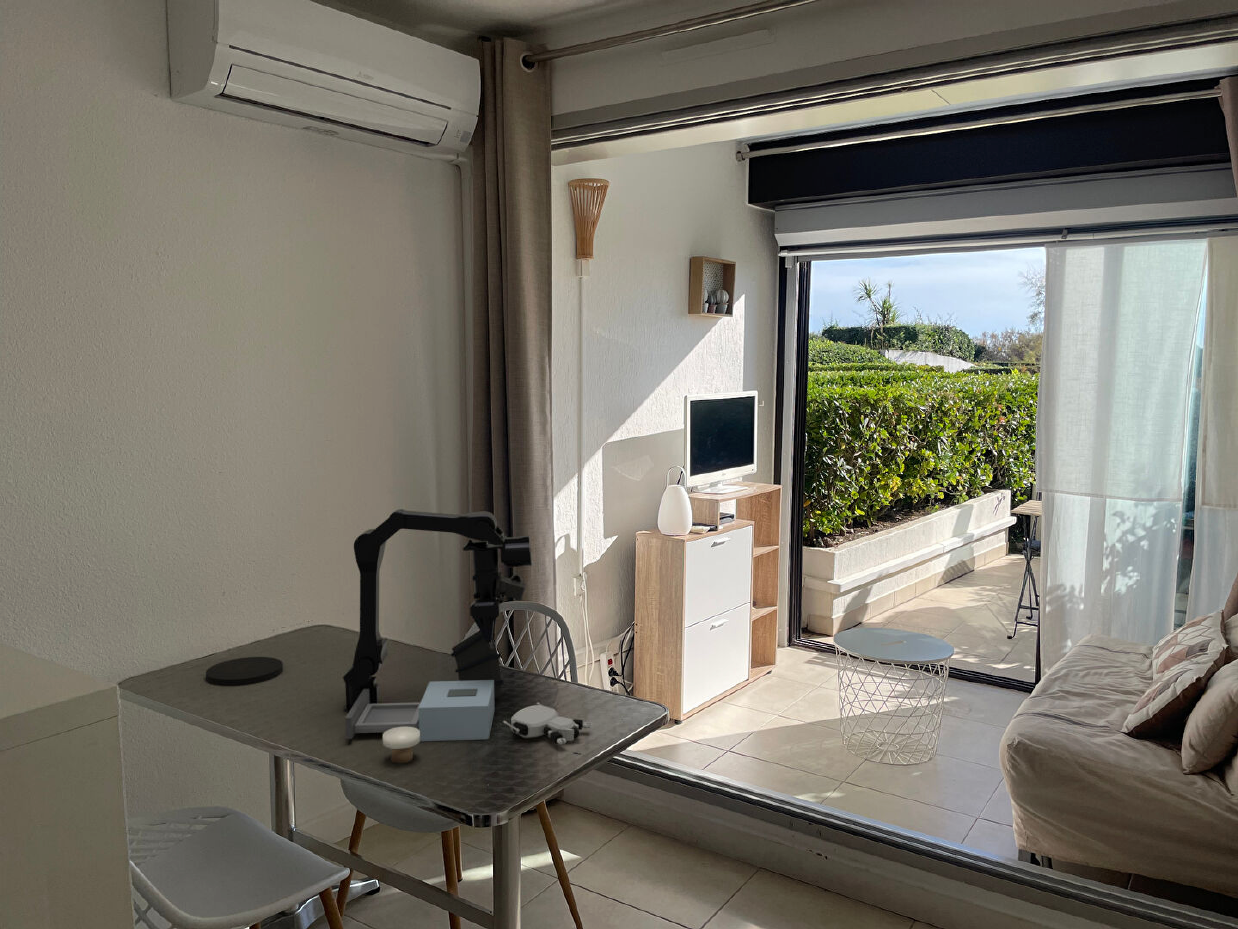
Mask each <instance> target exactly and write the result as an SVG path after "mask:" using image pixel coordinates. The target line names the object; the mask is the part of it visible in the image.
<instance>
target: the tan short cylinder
mask: <svg viewBox="0 0 1238 929" xmlns="http://www.w3.org/2000/svg"><path fill="white" fill-rule="evenodd" d="M390 753H391V754H390V755H391V756H390V757H391V762H392V763H395V764H406V763H409V762H411V761H412V760H413V756H414V755H413V746H412V747H408V748H403V749H392V748H390Z"/></svg>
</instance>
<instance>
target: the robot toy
mask: <svg viewBox="0 0 1238 929" xmlns="http://www.w3.org/2000/svg"><path fill="white" fill-rule="evenodd" d="M510 720H511V721H510V723H509V722H507V721H506V720H502V722H503V723H504V724H505V725H507V726H509V727H510V729H511V732H513V733H514V734H517V735H519V736H520V737H522V738H524V739H530V738H537V737H540V736H543V735H545V736H547V737H548V738H550V740H551V742H552V743H553V744H555V745H563V744H566V743H567V742H571V741H574V739H577V738H578V737H580V731H582V730H583V728H584V729H589V728H590V729H591V722H587V721H585V722H584V720H583V719H577V718H574V719H572V718H568V717H564V716H560V715H559V713H558V711H557V710H556V709H554V708H552V707H549V706H545V705H542V704H540V702H536V705H530V706H527V707H524V708H522V709H520V710H519V711H517V712H516V713H514V714H513V716H511V719H510Z"/></svg>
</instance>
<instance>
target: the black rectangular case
mask: <svg viewBox="0 0 1238 929" xmlns="http://www.w3.org/2000/svg"><path fill="white" fill-rule="evenodd" d="M494 637H496V633H495V632H493V633H492V641H491V643H486V641H485V639H484V637H483V635H482V633H481V632H480V630H479V629H478V631H477V632H475V633H473V634H471V635H470V636H469V637H467V638H465V639H464V640H462V641H461V642H459V643H457V644H456V645H454V646H453V647H451V650H452V652H451V653H450V655H451V657H452V658H453V657H454V659H455V662H456V668H457V669H454V670H455V673H458V674H457V675H458V681H474V680H494V698H499V697H501V696H502V686H503V685H504V679H502V678H501V668H500V667H501V666H500V660H499V659H501V658H502V657H501V653H498V650H497V649H498V648H497V644H496V642H495V639H494Z"/></svg>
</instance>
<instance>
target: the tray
mask: <svg viewBox="0 0 1238 929" xmlns="http://www.w3.org/2000/svg"><path fill="white" fill-rule="evenodd" d="M420 703H421V701H420V702H389V703H388V702H386V703H382V702H381V703H378V704H370V701H369V689H363V691H362V692H361V694H360V695H359V697H358V699H357V700H356V702H355V703H354V705H353V707H352V708H351V710H350V711H348V713H347V715H346V716H345V718H344V720H345V721H344V722H345V723H344V724H345V740H350V739H351V740H352V739H353V738H354V736H355V734H367V733H368V734H369V733H370V734H371V733H374V734H375V733H384V732H386V731H387V730H389V729H392V728H397V727H414V728H417V729H418V730H419V712H418V708H419V705H420Z"/></svg>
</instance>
